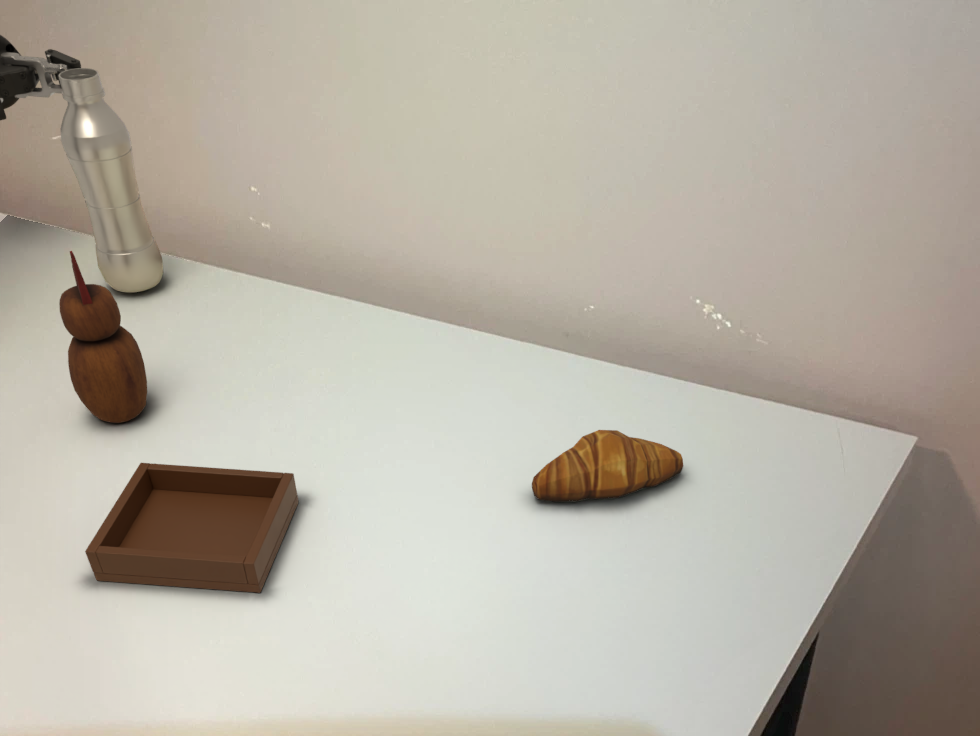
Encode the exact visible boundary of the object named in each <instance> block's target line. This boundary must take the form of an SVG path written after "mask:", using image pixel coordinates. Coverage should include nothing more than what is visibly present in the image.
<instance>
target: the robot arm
mask: <svg viewBox="0 0 980 736" xmlns="http://www.w3.org/2000/svg"><path fill="white" fill-rule="evenodd" d="M44 55H45V58H44V57H39V56H27V55H22V54H21V53H20V52H19V51H18V50H17V48H16V47H15V46H14V45H13V44H12V43H11V41H10V40H9V39H7V38H6V37H4V36H3V35H2V34H0V121H4V120H7V115H6V112H5V110H6V109H8V108H10V107H12V106H13V105H15V104H16V103H17V102H18V101H19V100H20V99H27V98H28V97H33V98H34V97H36V98H47V99H48V98H50V97H52V96H53V95H55V94H61V95H62V88H61V84H60V81H59V74H60V73H61V72H63V71H66V70H70V69H76V68H82V63H81V61H80V59H77V58H75V57H72V56H71V55H68V54H66V53H64V52H61V51H58V50H55V49H53V48H48V49H47V50H45V51H44ZM39 82H40V86H41V87H38V84H39ZM54 82H58V84H56V83H54Z"/></svg>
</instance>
